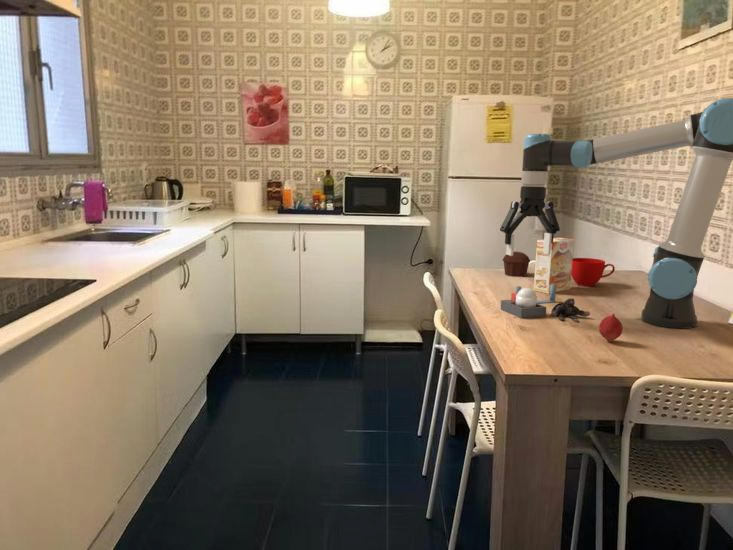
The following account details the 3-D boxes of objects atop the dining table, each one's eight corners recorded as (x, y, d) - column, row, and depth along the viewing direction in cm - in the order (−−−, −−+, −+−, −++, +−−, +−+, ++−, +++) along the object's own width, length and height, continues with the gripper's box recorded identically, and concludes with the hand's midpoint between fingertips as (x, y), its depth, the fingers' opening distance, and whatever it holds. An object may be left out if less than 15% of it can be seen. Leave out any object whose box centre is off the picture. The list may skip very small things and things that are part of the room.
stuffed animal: (548, 317, 179) (552, 289, 186) (548, 338, 185) (552, 310, 193) (589, 321, 174) (591, 292, 182) (588, 342, 181) (590, 313, 189)
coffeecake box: (548, 294, 216) (552, 241, 212) (532, 290, 221) (535, 239, 218) (571, 289, 225) (575, 238, 222) (554, 286, 231) (558, 237, 227)
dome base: (545, 316, 183) (547, 299, 182) (520, 318, 181) (522, 301, 180) (524, 307, 194) (525, 291, 193) (500, 309, 192) (501, 293, 191)
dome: (540, 308, 184) (541, 289, 183) (522, 310, 182) (523, 290, 181) (528, 304, 190) (529, 285, 189) (511, 305, 188) (512, 286, 187)
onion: (594, 341, 157) (596, 312, 156) (603, 337, 161) (606, 309, 160) (615, 346, 153) (618, 316, 152) (624, 341, 157) (627, 313, 156)
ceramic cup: (617, 289, 226) (619, 264, 224) (571, 287, 228) (573, 262, 227) (608, 283, 238) (611, 258, 237) (565, 281, 241) (567, 257, 239)
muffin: (532, 274, 255) (534, 251, 253) (524, 278, 246) (526, 255, 244) (506, 271, 261) (507, 249, 260) (497, 275, 252) (499, 252, 250)
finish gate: (556, 302, 203) (557, 285, 202) (517, 305, 198) (518, 287, 197) (552, 300, 205) (553, 283, 204) (513, 303, 200) (514, 286, 199)
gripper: (559, 185, 186) (554, 251, 190) (491, 184, 178) (487, 253, 182) (575, 186, 179) (569, 255, 183) (505, 185, 171) (500, 257, 175)
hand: (528, 254), depth 182 cm, fingers open, 13 cm apart
